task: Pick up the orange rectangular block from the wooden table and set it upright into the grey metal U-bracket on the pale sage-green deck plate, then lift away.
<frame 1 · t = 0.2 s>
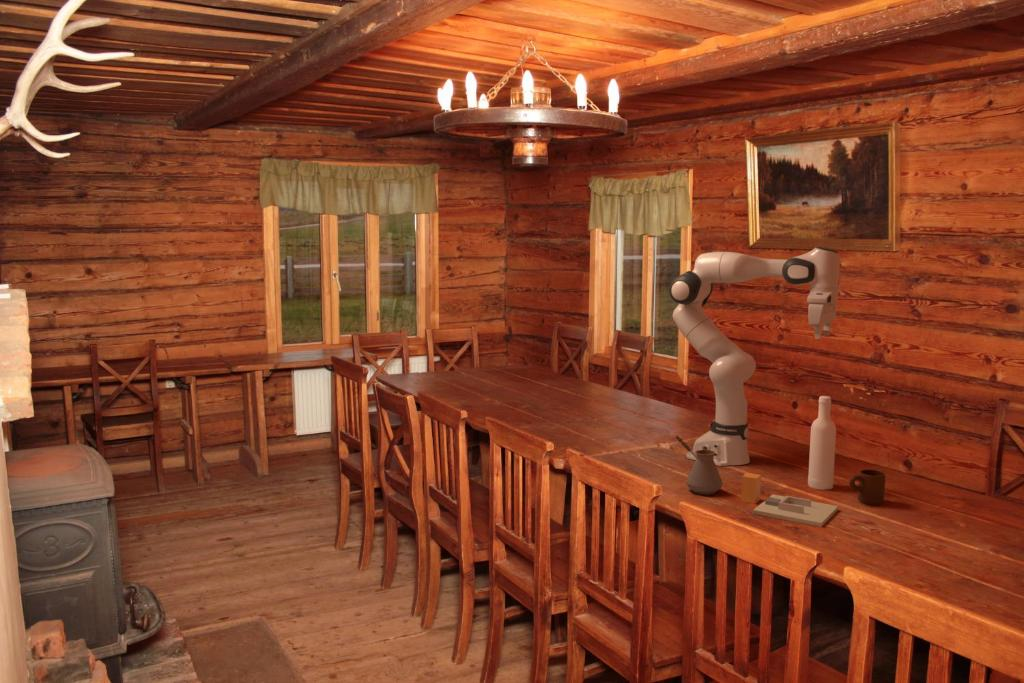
hand: (821, 337, 301), 48 cm above the table, fingers open, 8 cm apart
mug: (864, 503, 279), on the table
coffee pot: (694, 487, 294), on the table
orange rectangular block: (750, 500, 281), on the table
mount deck: (795, 511, 270), on the table
bottle: (820, 487, 295), on the table
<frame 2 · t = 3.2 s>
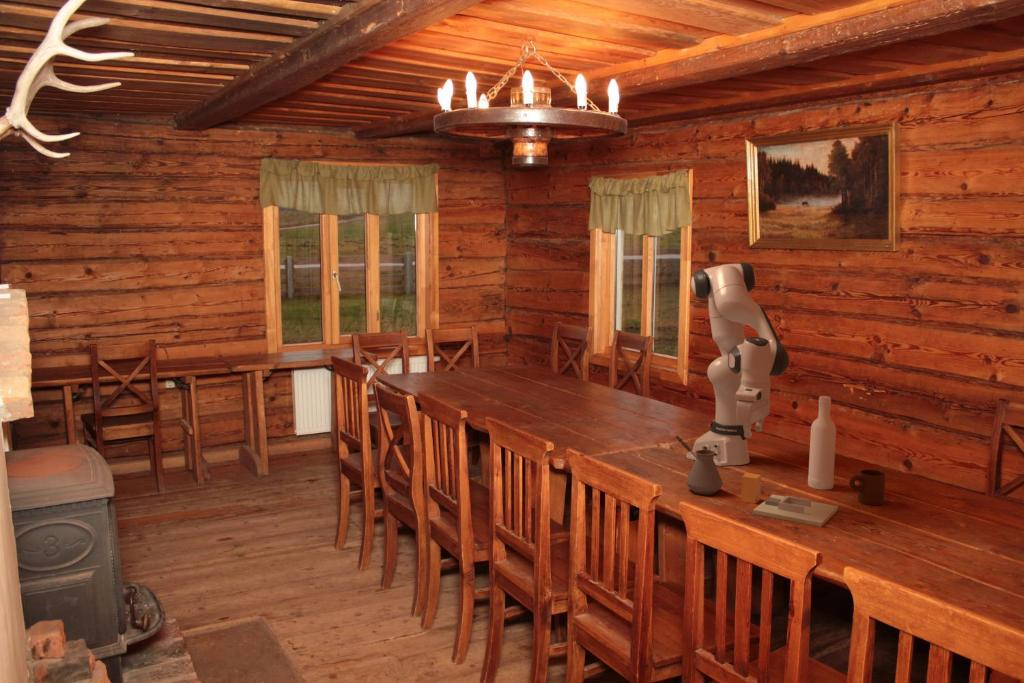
hand: (753, 434, 278), 21 cm above the table, fingers open, 8 cm apart
nothing on the table moved.
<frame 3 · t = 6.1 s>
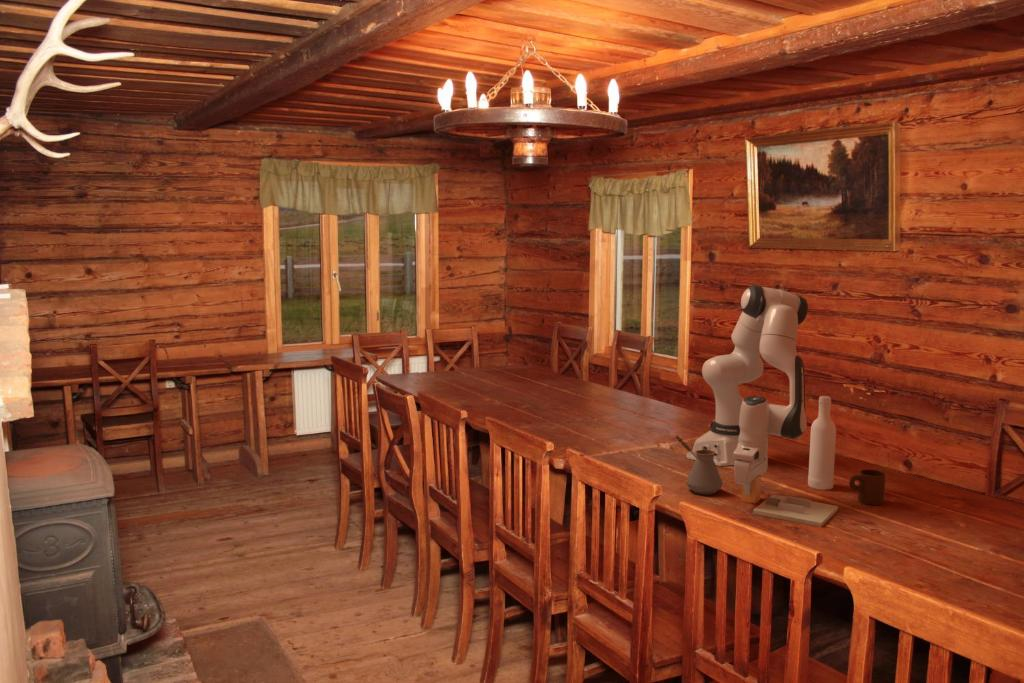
hand: (750, 491, 280), 3 cm above the table, fingers closed on orange rectangular block, 4 cm apart
orange rectangular block: (750, 500, 281), on the table, touching gripper
everything else where it was.
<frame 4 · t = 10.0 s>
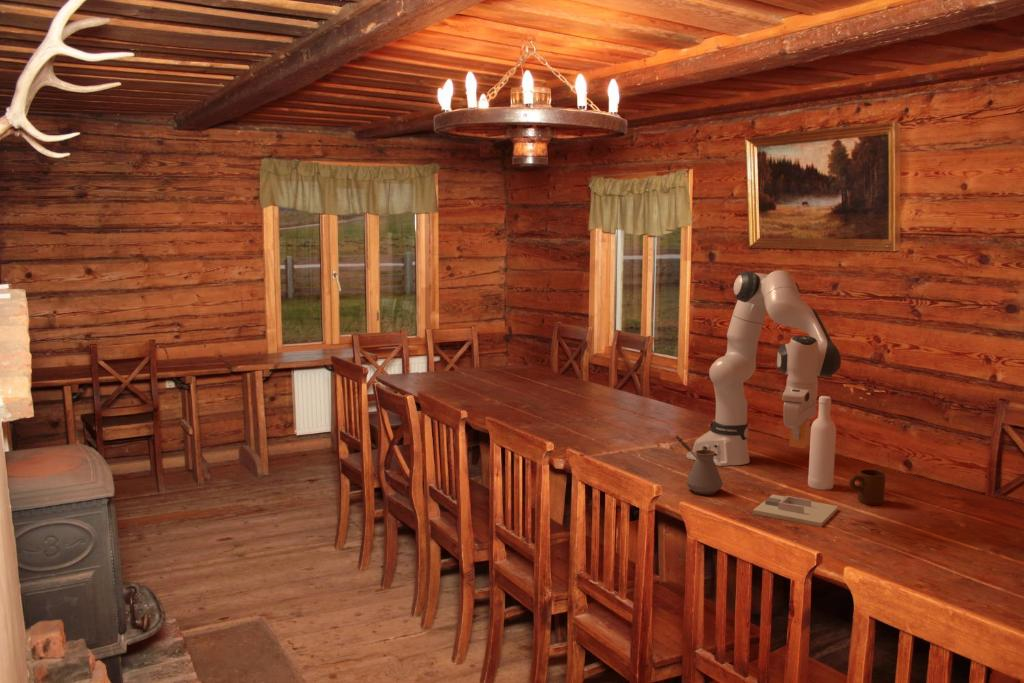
hand: (799, 436, 267), 23 cm above the table, fingers closed on orange rectangular block, 4 cm apart
orange rectangular block: (799, 445, 267), point 20 cm above the table, touching gripper
everything else where it was.
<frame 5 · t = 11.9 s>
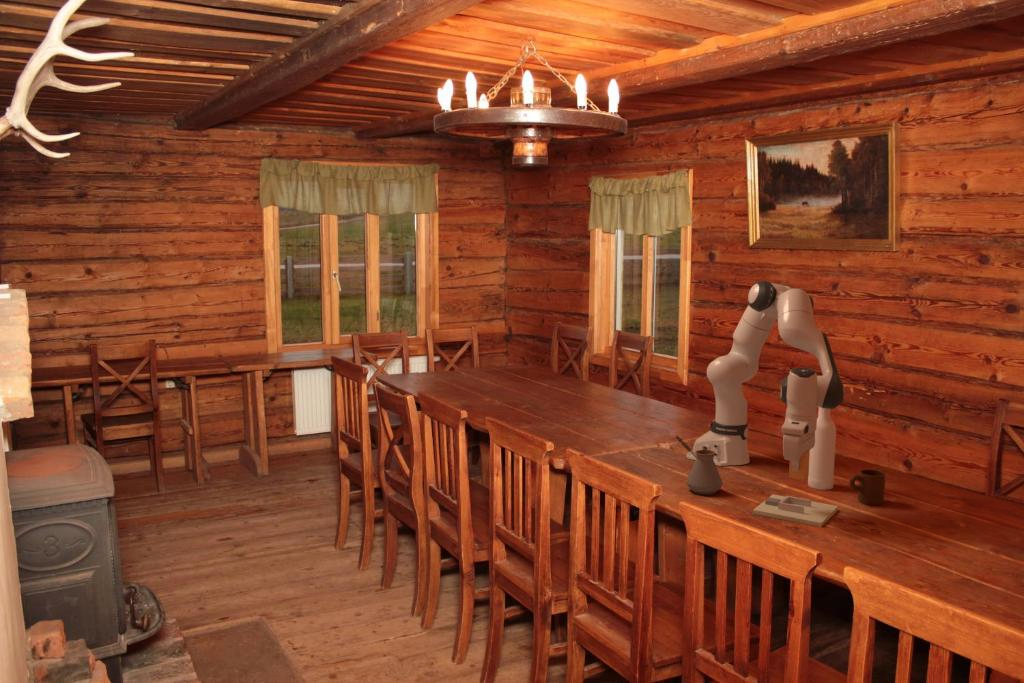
hand: (799, 468, 268), 13 cm above the table, fingers closed on orange rectangular block, 4 cm apart
orange rectangular block: (798, 476, 268), point 11 cm above the table, touching gripper
everything else where it was.
when the fingers open (6 cm above the table, at t = 13.8 s): orange rectangular block drops 2 cm, resting on mount deck.
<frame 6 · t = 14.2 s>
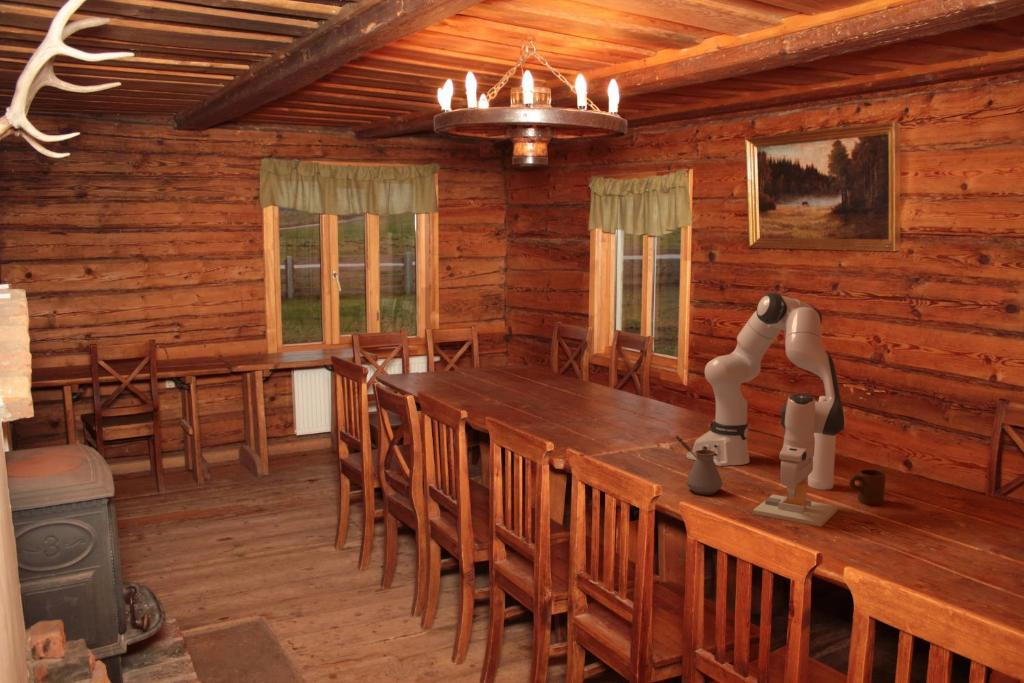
hand: (796, 493, 269), 6 cm above the table, fingers open, 8 cm apart
orange rectangular block: (796, 507, 270), point 1 cm above the table, touching mount deck
everything else where it was.
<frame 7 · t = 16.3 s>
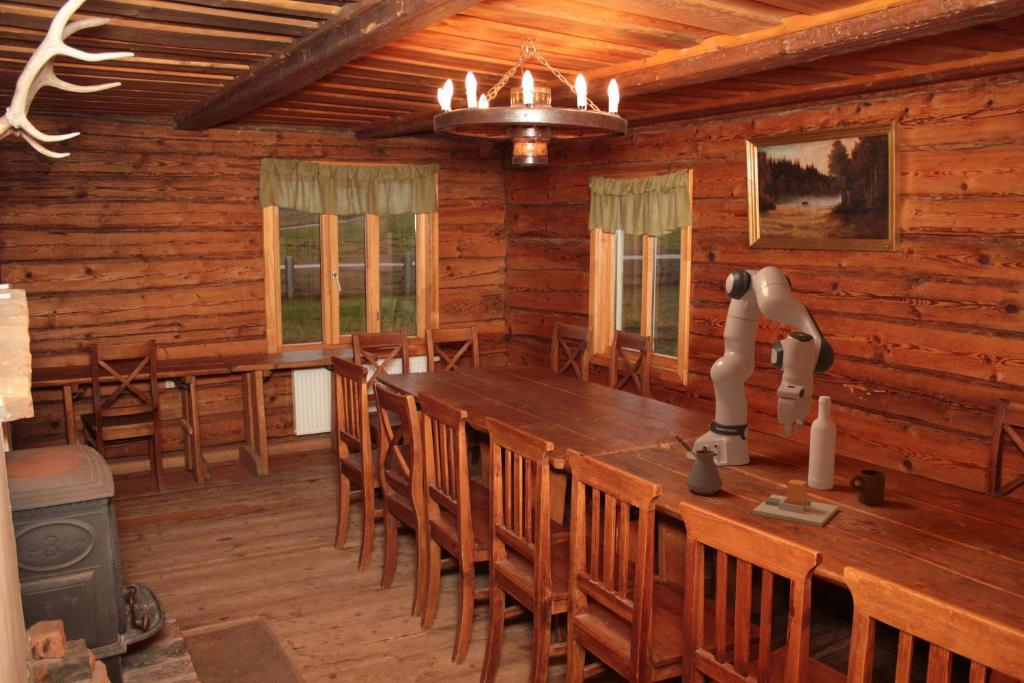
hand: (793, 432, 269), 24 cm above the table, fingers open, 8 cm apart
nothing on the table moved.
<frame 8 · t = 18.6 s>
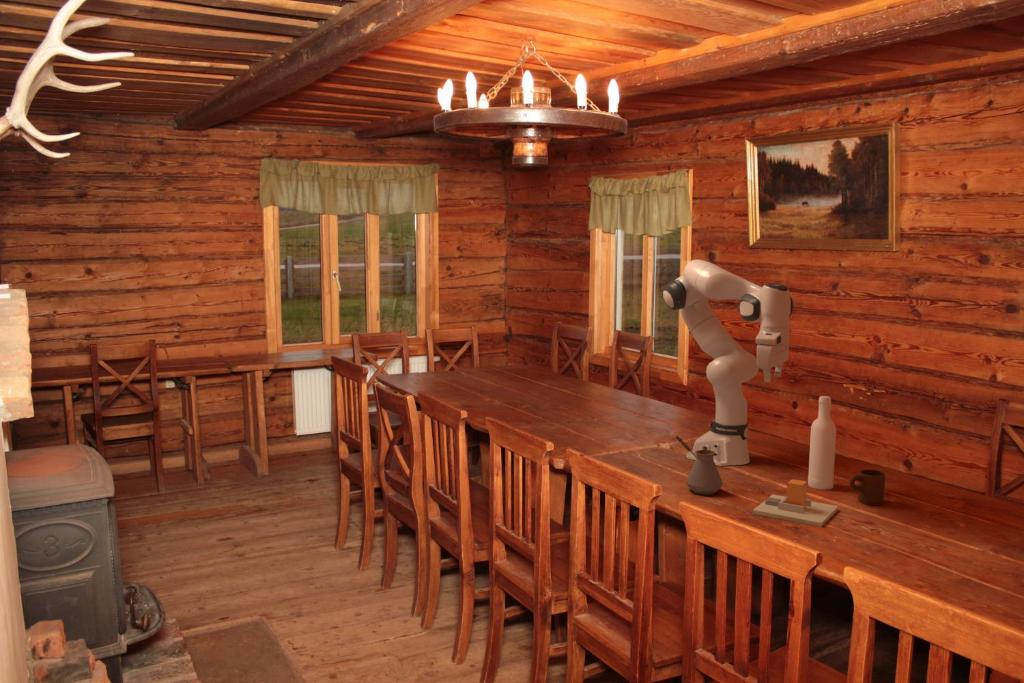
hand: (772, 379, 282), 37 cm above the table, fingers open, 8 cm apart
nothing on the table moved.
at the end: orange rectangular block 0.0 cm off-centre on the mount deck, point 1.2 cm above the mount deck's base; orange rectangular block tilted 0°; the gripper is holding nothing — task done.
